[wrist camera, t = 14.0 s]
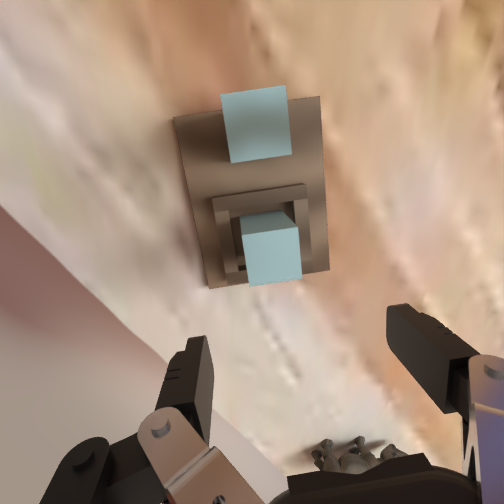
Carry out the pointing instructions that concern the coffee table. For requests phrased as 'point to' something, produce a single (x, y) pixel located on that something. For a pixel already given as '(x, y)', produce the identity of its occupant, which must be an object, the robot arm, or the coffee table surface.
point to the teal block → (270, 248)
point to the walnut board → (255, 176)
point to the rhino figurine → (353, 458)
